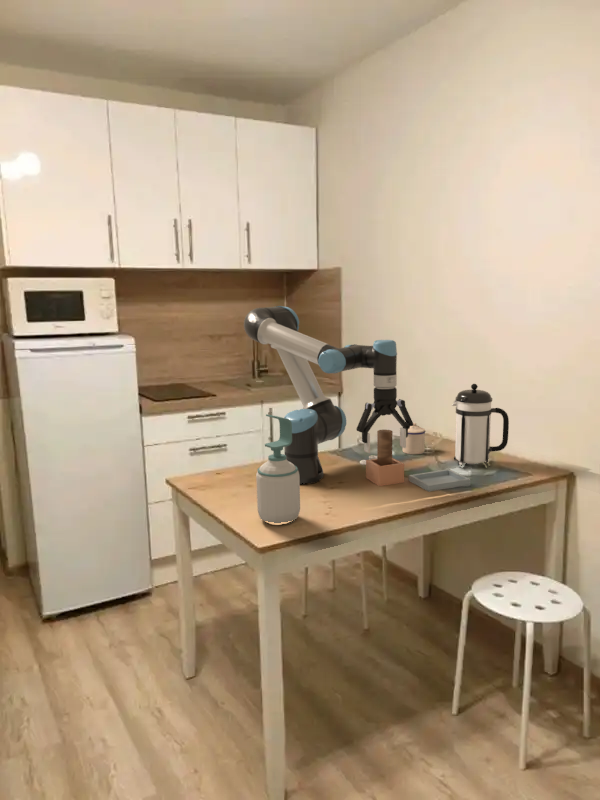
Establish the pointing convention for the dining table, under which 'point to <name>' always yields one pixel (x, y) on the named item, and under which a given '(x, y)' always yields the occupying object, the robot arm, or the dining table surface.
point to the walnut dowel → (384, 447)
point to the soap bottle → (278, 481)
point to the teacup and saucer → (369, 458)
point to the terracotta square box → (385, 472)
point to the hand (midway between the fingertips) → (385, 449)
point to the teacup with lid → (415, 440)
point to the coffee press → (476, 426)
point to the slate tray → (439, 480)
